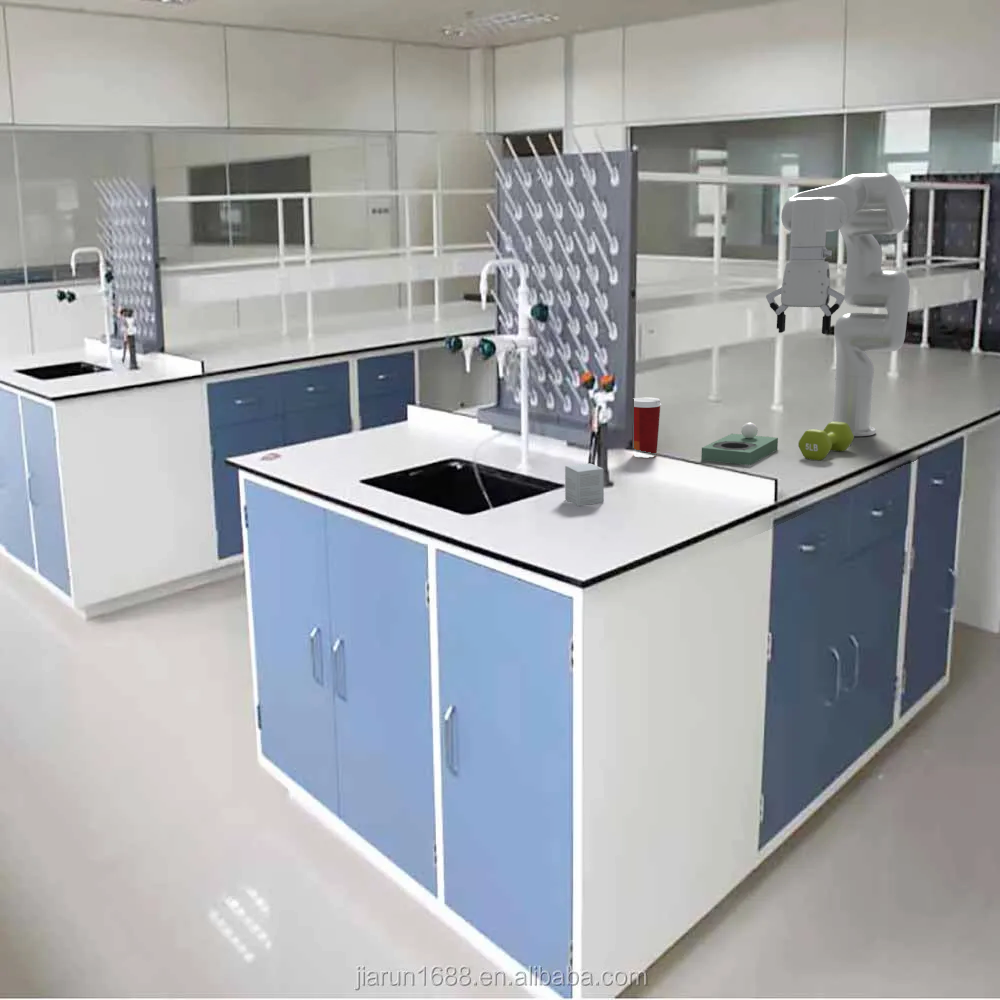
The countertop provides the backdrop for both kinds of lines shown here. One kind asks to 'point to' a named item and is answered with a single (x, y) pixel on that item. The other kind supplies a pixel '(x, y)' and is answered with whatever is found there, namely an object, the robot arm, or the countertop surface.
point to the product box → (584, 484)
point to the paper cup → (646, 423)
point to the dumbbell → (825, 440)
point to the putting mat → (739, 449)
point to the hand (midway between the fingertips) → (803, 332)
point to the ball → (749, 430)
